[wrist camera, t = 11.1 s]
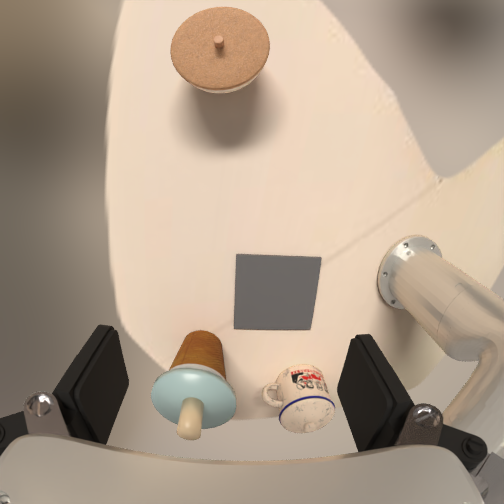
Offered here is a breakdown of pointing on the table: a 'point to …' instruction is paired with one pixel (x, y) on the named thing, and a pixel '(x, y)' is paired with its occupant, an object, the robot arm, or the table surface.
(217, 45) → the lidded jar
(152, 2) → the table surface
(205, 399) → the cover
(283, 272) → the mat
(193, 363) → the disposable coffee cup
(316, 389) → the teacup with lid
